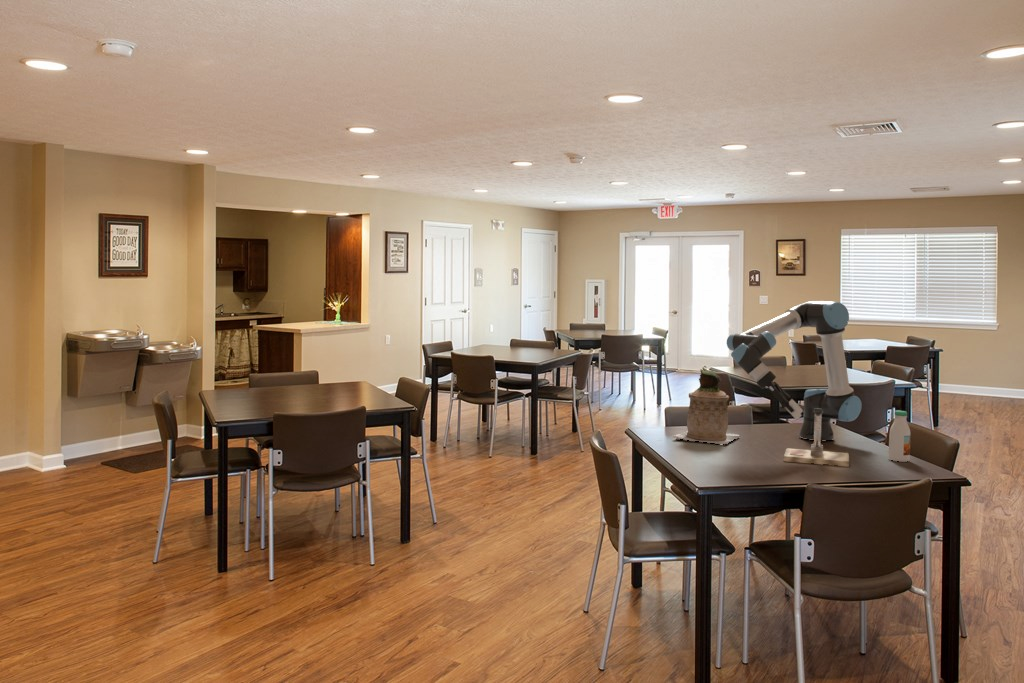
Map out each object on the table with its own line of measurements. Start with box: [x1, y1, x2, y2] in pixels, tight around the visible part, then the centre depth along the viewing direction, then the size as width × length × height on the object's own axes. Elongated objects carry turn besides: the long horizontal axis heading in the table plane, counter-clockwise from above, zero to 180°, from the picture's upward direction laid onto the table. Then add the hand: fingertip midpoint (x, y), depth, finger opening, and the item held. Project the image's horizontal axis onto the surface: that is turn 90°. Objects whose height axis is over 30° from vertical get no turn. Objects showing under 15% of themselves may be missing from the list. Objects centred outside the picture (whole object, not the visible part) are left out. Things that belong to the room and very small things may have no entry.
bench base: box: [783, 443, 850, 468], centre depth 327 cm, size 24×18×6 cm
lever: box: [813, 408, 823, 447], centre depth 326 cm, size 3×3×18 cm
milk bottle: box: [887, 410, 911, 463], centre depth 327 cm, size 8×8×20 cm
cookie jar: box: [673, 368, 740, 445], centre depth 368 cm, size 25×25×32 cm
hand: (800, 415), depth 327 cm, fingers open, 13 cm apart
